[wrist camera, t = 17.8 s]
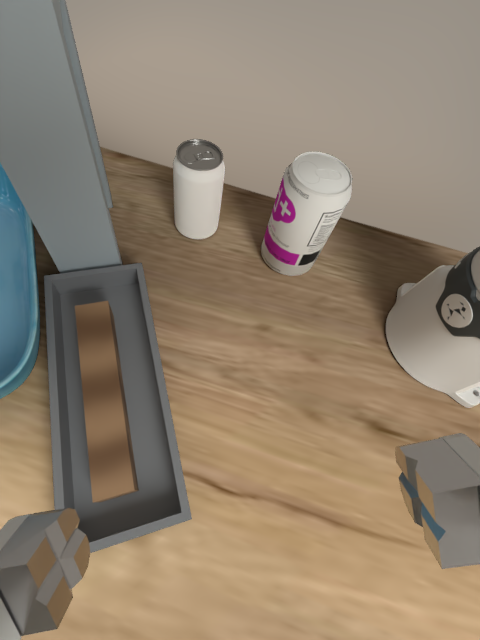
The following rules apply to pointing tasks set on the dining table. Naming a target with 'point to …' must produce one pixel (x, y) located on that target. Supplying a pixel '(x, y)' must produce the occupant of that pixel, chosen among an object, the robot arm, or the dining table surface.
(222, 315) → the dining table surface
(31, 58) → the slate stand
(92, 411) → the walnut block
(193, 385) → the dining table surface
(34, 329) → the casserole dish
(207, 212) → the can
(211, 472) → the dining table surface
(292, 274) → the supplement can
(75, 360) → the charcoal tray
